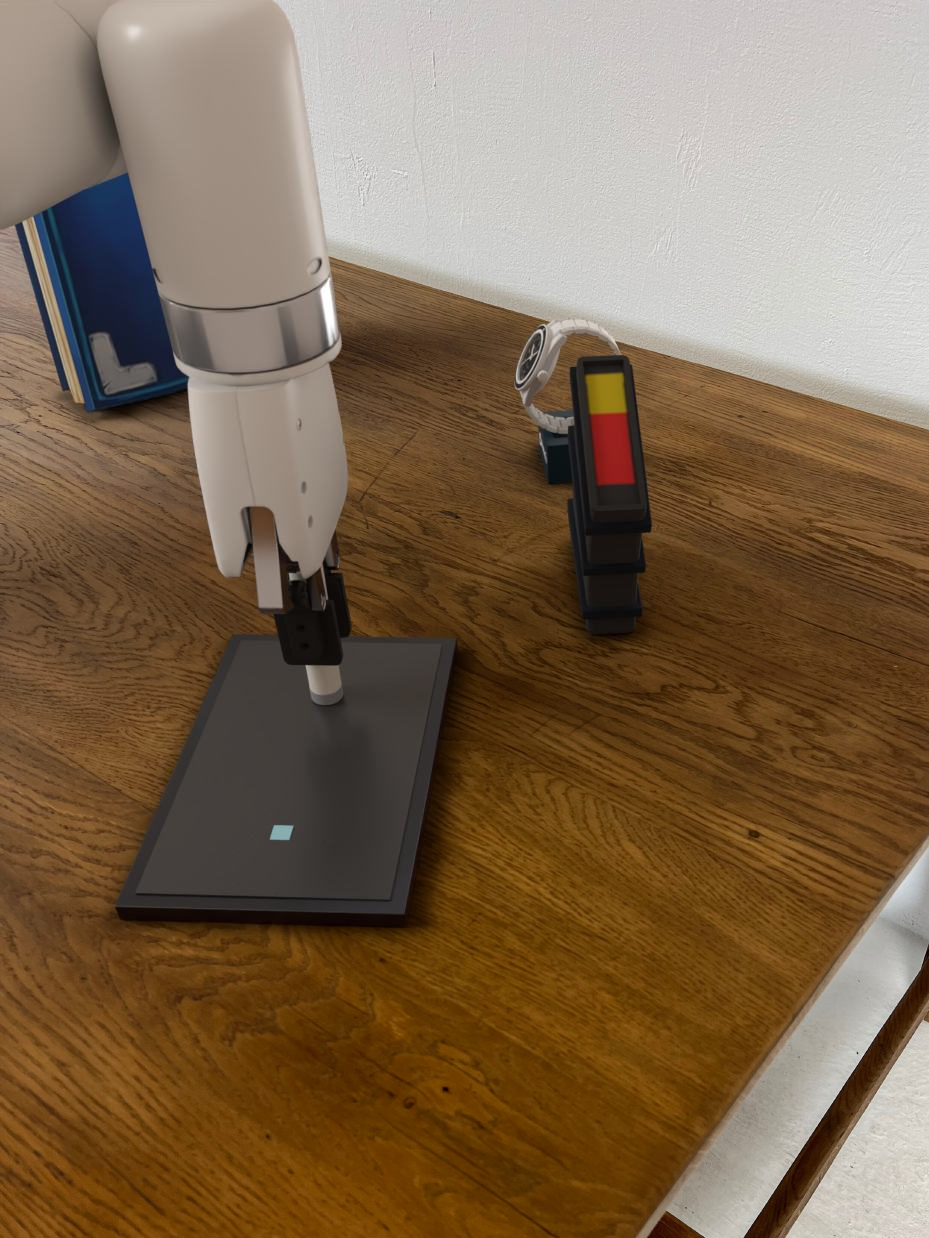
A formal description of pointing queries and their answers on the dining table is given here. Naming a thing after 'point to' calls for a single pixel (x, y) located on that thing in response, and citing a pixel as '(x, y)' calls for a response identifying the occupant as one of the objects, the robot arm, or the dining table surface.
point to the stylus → (322, 671)
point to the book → (100, 298)
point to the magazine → (607, 493)
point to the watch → (534, 376)
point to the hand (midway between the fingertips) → (318, 646)
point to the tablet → (299, 791)
